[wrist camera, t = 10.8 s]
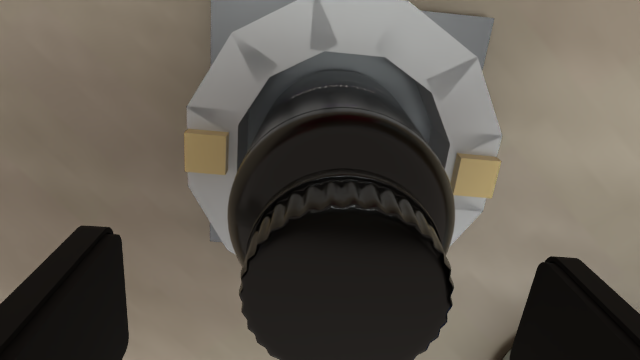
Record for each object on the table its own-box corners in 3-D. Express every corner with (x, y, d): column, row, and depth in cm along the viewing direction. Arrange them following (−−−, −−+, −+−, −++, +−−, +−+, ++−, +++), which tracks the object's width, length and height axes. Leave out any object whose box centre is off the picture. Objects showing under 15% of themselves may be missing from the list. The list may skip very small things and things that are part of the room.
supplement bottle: (346, 33, 19) (386, 78, 8) (434, 150, 21) (568, 318, 10) (230, 132, 21) (127, 284, 9) (322, 232, 23) (328, 455, 11)
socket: (209, 235, 24) (185, 286, 19) (210, -18, 19) (179, -25, 15) (438, 254, 24) (464, 307, 20) (493, 11, 20) (542, 14, 15)
